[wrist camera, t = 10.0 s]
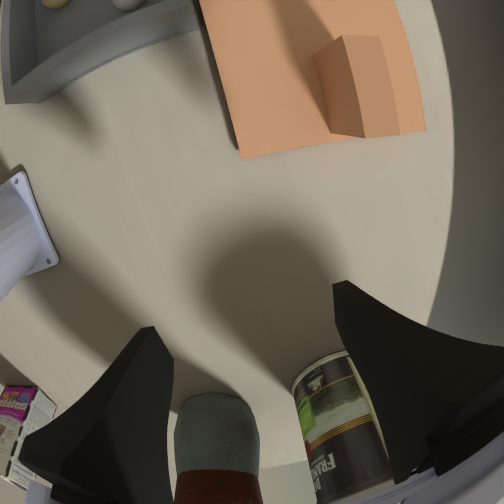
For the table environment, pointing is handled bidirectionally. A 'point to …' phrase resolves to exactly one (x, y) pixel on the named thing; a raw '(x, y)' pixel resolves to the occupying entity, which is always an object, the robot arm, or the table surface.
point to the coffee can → (340, 431)
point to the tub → (78, 39)
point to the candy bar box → (20, 428)
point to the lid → (313, 71)
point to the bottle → (216, 452)
